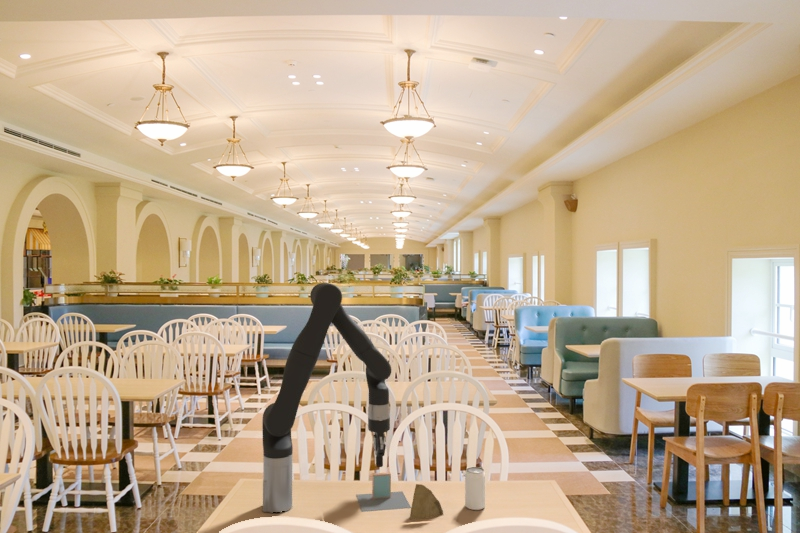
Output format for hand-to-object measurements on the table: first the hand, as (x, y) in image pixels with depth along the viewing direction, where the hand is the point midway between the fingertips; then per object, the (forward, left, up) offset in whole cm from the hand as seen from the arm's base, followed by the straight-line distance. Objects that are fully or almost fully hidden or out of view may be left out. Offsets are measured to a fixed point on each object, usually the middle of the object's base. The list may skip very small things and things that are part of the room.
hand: (379, 466), depth 203 cm
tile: (0, -6, -8) cm, 10 cm away
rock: (+11, -23, -9) cm, 27 cm away
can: (+29, -18, -9) cm, 35 cm away
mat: (0, -9, -9) cm, 13 cm away
